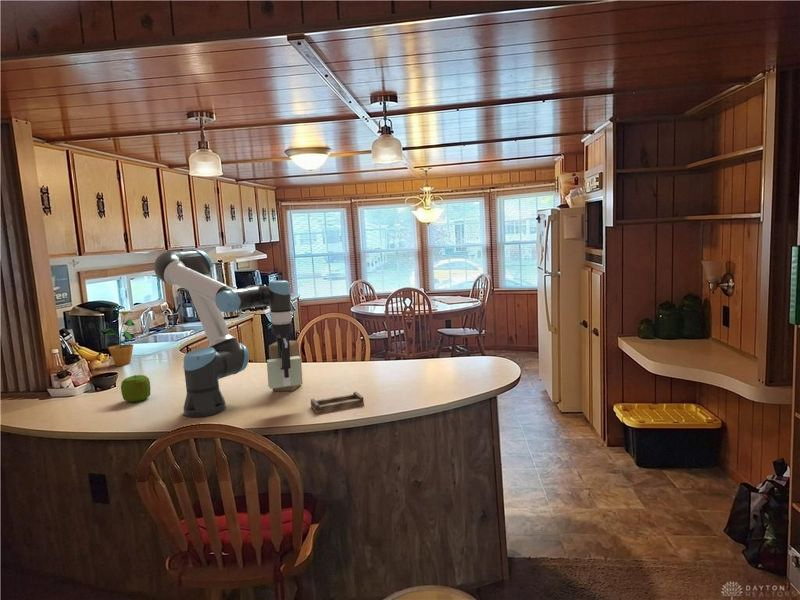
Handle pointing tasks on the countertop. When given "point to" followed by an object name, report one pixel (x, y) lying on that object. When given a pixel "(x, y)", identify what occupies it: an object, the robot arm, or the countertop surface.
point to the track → (337, 403)
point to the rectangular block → (276, 372)
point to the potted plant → (121, 352)
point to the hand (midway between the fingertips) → (285, 383)
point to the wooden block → (293, 352)
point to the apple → (135, 388)
